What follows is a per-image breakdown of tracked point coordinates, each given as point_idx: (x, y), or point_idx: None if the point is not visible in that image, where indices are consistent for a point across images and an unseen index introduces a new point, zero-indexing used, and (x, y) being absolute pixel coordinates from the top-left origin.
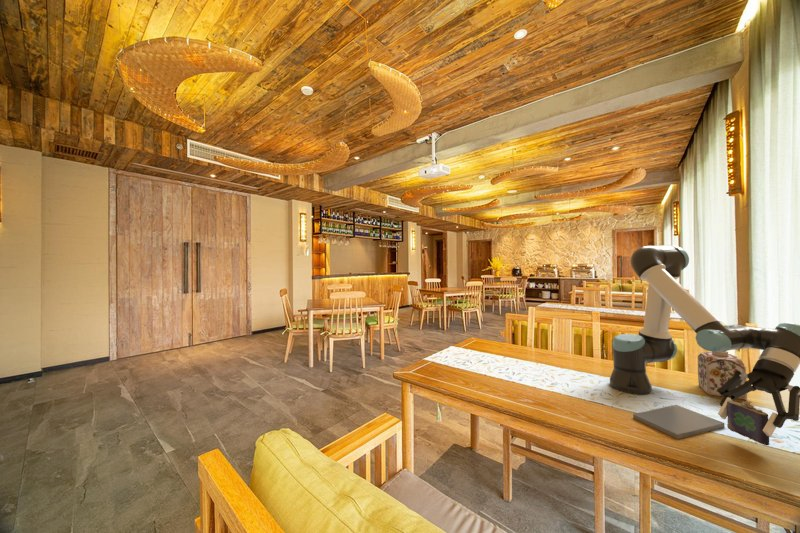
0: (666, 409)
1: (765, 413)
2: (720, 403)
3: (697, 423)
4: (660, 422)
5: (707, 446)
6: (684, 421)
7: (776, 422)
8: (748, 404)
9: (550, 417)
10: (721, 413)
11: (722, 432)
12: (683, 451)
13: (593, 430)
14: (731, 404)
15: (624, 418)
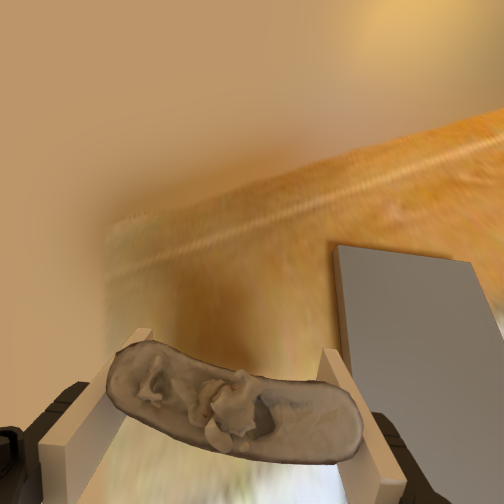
0: None
1: (116, 381)
2: (387, 420)
3: (388, 400)
4: (410, 278)
5: (282, 281)
6: (409, 366)
7: (77, 394)
8: (221, 391)
9: (459, 132)
10: (324, 352)
11: None
12: (289, 209)
13: (401, 149)
14: (317, 382)
15: (456, 246)
